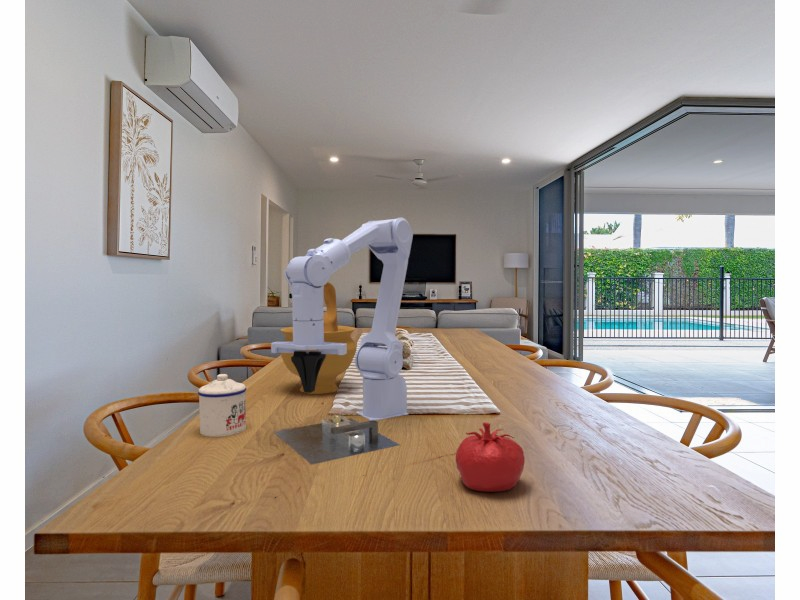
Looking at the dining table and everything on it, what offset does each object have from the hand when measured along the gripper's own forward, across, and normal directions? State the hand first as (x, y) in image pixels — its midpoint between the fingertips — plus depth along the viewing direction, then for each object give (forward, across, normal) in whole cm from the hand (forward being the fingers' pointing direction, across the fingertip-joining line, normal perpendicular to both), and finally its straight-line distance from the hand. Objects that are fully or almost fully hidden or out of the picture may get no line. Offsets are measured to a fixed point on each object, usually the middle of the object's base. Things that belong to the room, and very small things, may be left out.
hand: (309, 391), depth 91 cm
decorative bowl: (+10, -15, +40) cm, 44 cm away
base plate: (+9, +5, 0) cm, 10 cm away
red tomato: (+10, +34, -12) cm, 38 cm away
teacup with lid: (+10, -19, +2) cm, 21 cm away
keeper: (+9, +10, -3) cm, 14 cm away
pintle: (+9, +4, +3) cm, 11 cm away
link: (+9, +7, -1) cm, 11 cm away
